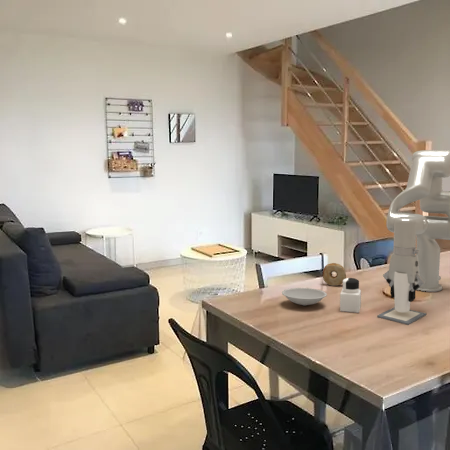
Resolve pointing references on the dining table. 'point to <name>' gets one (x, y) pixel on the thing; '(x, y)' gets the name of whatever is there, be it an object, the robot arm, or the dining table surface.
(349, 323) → the dining table surface
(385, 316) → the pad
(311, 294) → the dish
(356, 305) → the medicine bottle
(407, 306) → the drinking glass
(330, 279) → the brown thick ring
